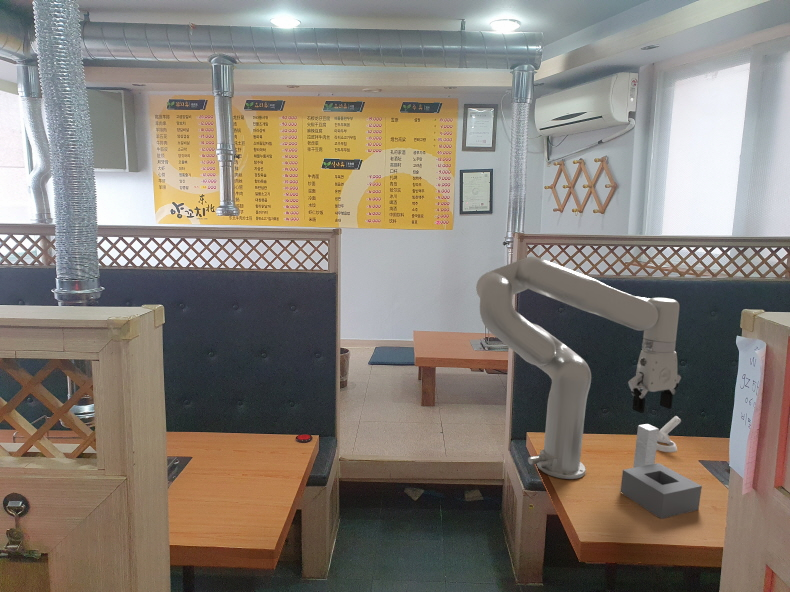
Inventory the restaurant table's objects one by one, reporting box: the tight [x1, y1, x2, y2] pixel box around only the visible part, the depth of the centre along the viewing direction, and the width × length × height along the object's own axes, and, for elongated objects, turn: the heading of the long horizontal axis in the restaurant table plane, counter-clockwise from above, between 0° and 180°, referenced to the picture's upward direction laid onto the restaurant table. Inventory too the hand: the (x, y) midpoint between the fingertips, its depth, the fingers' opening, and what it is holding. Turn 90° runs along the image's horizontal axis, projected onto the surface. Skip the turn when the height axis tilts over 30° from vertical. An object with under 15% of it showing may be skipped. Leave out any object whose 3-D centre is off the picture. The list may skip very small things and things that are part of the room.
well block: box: [619, 462, 703, 520], centre depth 125 cm, size 12×12×6 cm
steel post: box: [632, 423, 660, 468], centre depth 139 cm, size 4×4×13 cm
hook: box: [656, 415, 682, 453], centre depth 156 cm, size 8×12×7 cm
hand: (652, 409), depth 137 cm, fingers open, 9 cm apart
